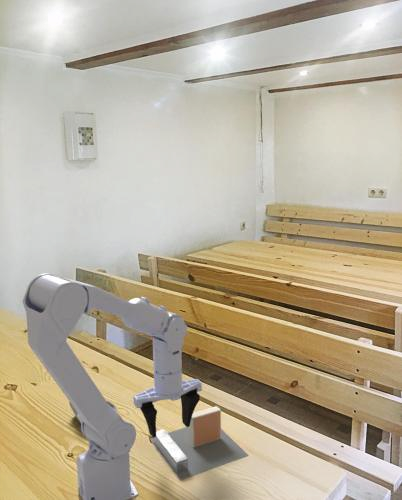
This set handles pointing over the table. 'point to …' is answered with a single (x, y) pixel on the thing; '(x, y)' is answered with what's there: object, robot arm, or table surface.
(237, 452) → the mat
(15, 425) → the table surface
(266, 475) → the table surface
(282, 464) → the table surface
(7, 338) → the table surface
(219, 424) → the tile
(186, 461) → the bar
